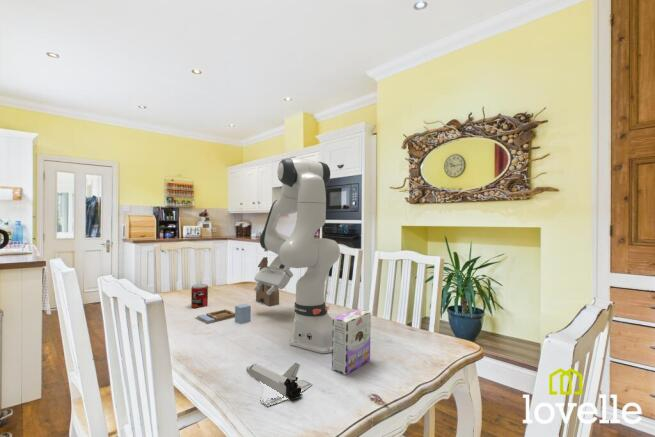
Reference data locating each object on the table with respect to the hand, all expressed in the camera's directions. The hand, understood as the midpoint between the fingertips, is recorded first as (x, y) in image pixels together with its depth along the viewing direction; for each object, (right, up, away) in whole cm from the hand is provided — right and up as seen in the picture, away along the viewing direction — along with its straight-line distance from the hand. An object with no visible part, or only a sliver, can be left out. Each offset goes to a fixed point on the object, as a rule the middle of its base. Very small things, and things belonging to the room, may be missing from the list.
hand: (261, 292), depth 152 cm
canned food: (-36, -12, +19) cm, 42 cm away
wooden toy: (-3, -12, +29) cm, 32 cm away
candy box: (+38, -14, -45) cm, 61 cm away
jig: (-20, -12, -2) cm, 23 cm away
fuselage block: (-7, -12, -7) cm, 16 cm away
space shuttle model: (+14, -14, -58) cm, 61 cm away
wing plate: (-23, -11, -6) cm, 26 cm away
